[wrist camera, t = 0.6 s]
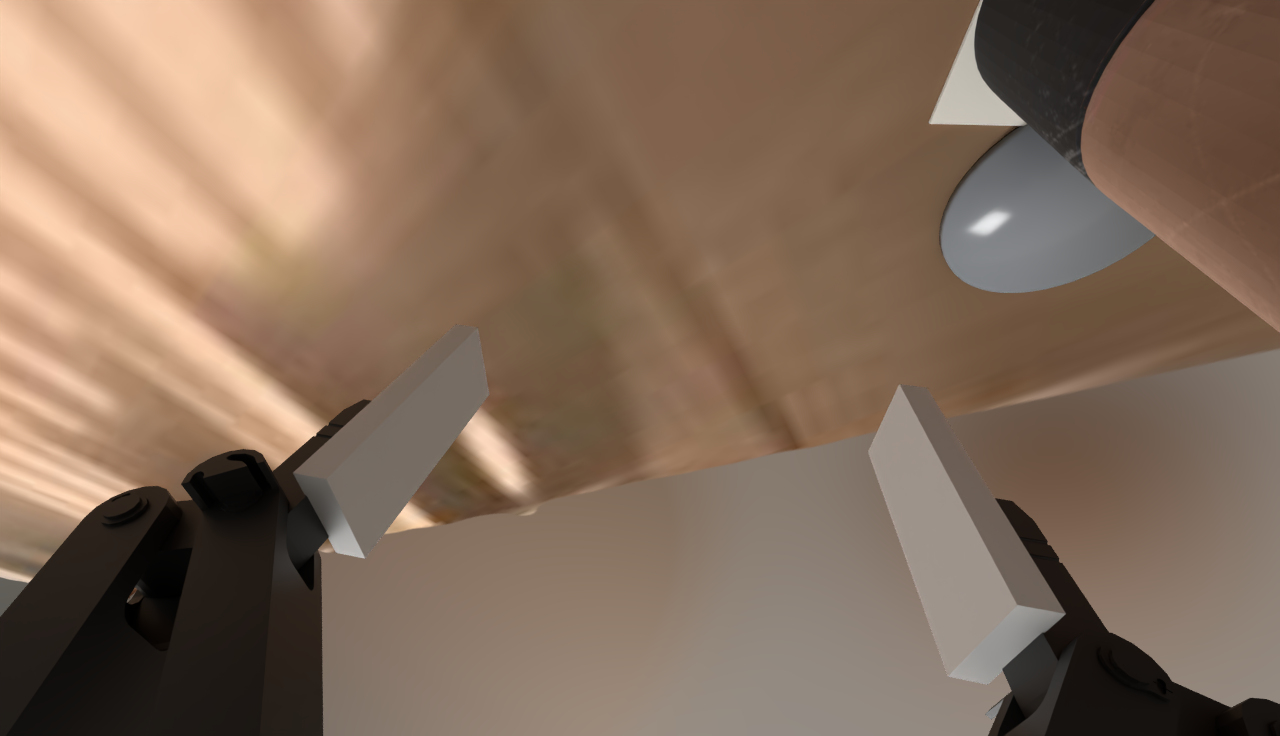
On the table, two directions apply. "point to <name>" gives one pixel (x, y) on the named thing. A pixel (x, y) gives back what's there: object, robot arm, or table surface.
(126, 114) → the table surface
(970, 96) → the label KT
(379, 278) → the table surface
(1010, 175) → the slate coaster
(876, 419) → the table surface
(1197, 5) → the travel mug
